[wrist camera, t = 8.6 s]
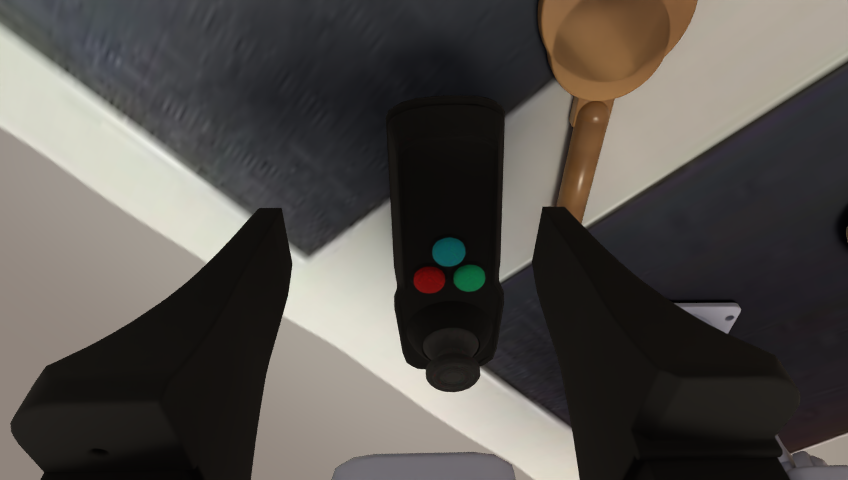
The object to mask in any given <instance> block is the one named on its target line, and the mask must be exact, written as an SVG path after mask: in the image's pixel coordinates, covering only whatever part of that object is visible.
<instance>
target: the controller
mask: <svg viewBox="0 0 848 480" xmlns="http://www.w3.org/2000/svg"><path fill="white" fill-rule="evenodd" d="M504 126H505V112H504V110H503V108H502V106H501V105H499V104H498V103H497V102H495V101H493V100H491V99H488V98H485V97H479V96H434V97H424V98H415V99H412V100H408V101H405V102H401V103H400V104H398V105H396V106H394V107H393V108H392V109H390V110H389V111H388V113H387V116H386V129H387V145H388V163H389V181H390V199H391V217H392V237H393V257H394V269H395V275H396V281H397V290H396V293H395V295H394V307H395V313H396V319H397V324H398V330H399V335H400V341H401V346H402V352H403V355H404V357H405V360H406V362H407V363H408V364H410V365H411V366H413V367H415V368H417V369H426V379H427V381H428V382H429V384H430V385H431V386H433V387H434V388H436V389H438V390H440V391H444V392H458V391H463V390H466V389H468V388H470V387H471V386H473V385H474V384H475V383H476V382H477V381H478V379H479V377H480V367H479V366H483V365H484V364H486V363H488V362H489V361H490V360H492V359H493V357H494V354H495V351H496V349H497V343H498V337H499V330H500V324H501V318H502V312H503V306H504V291H503V289H502V287H501V284H500V282H499V268H500V255H501V223H502V191H503V159H504Z"/></svg>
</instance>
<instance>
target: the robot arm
mask: <svg viewBox="0 0 848 480" xmlns="http://www.w3.org/2000/svg"><path fill="white" fill-rule="evenodd" d="M532 265H533V271H534V277H535V283H536V289H537V294H538V297H539V300H540V303H541V307H542V310H543V313H544V316H545V320H546V323H547V326H548V329H549V332H550V335H551V338H552V342H553V345H554V348H555V351H556V354H557V357H558V361H559V365H560V369H561V373H562V378H563V383H564V388H565V393H566V398H567V403H568V409H569V415H570V420H571V426H572V432H573V438H574V444H575V451H576V457H577V464H578V470H579V478H580V480H848V466H847V465H833V466H832V465H830V466H829V465H827V464H826V463H825V461H824V460H822V459H820V458H817V457H815V456H810V455H809V454H808V453H807V452H805V451H800V452H797V453H794V454H792V455H791V454H790V453H789V452H788V451H787V450H786V448H785V447H784V446H783V444H782V442H781V440H780V439H779V437H778V435H777V434H778V433H779V431H780V430H781V429H782V428H783V427H784V425H785V424H786V423H787V422H788V421H789V419H790V418H791V417H792V416H793V414H794V413H795V411H796V409H797V408H798V406H799V404H800V393H799V391H798V389H797V387H796V385H795V384H794V382H793V381H792V379H791V378H790V376H789V375H788V373H787V372H786V370H785V369H784V367H783V366H782V364H781V363H780V361H779V360H778V359H777V358H776V356H775V355H773V354H771V353H769V352H766V351H764V350H762V349H760V348H757V347H755V346H753V345H751V344H748V343H746V342H744V341H741V340H739V339H737V338H735V337H733V336H731V335H729V334H728V332H729V331H730V329H731V327H732V326H733V324H734V322H735V320H736V319H737V317H738V315H739V314H740V312H741V308H740V307H739V305H738V304H737V303H673V302H671V301H670V300H668V299H667V298H665V297H664V296H662V295H661V294H659V293H658V292H657V291H655V290H654V289H653V288H651V287H650V286H648V285H647V284H646V283H644V282H643V281H642V280H641V279H639V278H638V277H637V276H636V275H634V274H633V273H632V272H631V271H630V270H628V269H627V268H626V267H625V266H624V265H623V264H622V263H620V262H619V261H618V260H617V259H616V258H615V257H614V256H613V255H612V254H610V253H609V252H608V251H607V250H606V249H605V248H604V247H603V246H602V245H601V244H600V243H599V242H598V241H597V240H596V239H595V238H594V237H593V236H592V235H591V234H590V233H589V232H588V231H587V230H586V229H585V227H584V226H583V225H582V224H581V223H580V222H579V221H578V220H577V219H576V218H575V217H574V216H573V215H572V214H571V213H570V212H569V211H568V210H567V208H566V207H543V208H542V213H541V218H540V223H539V229H538V234H537V239H536V244H535V249H534V254H533V259H532ZM291 270H292V259H291V254H290V249H289V244H288V239H287V234H286V228H285V223H284V218H283V213H282V208H259V209H258V210H257V211H256V212H255V213H254V214H253V215H252V216H251V217H250V218H249V220H248V221H247V222H246V223H245V224H244V225H243V226H242V227H241V229H240V230H239V231H238V232H237V233H236V234H235V235H234V236H233V237H232V239H231V240H230V241H229V242H228V243H227V244H226V245H225V246H224V247H223V248H222V249H221V250H220V251H219V252H218V253H217V254H216V255H215V256H214V257H213V258H212V259H211V260H210V261H209V262H208V263H207V264H206V265H205V266H204V267H203V268H202V269H201V270H200V271H199V272H198V273H197V274H196V275H194V276H193V277H192V278H191V279H190V280H189V281H188V282H187V283H185V284H184V285H183V286H182V287H181V288H179V289H178V290H177V291H175V292H174V293H173V294H171V295H170V296H169V297H168V298H166V299H165V300H163V301H162V302H161V303H159V304H158V305H156V306H155V307H153V308H152V309H150V310H149V311H147V312H146V313H144V314H143V315H141V316H140V317H138V318H137V319H135V320H134V321H132V322H131V323H129V324H127V325H126V326H124V327H122V328H121V329H119V330H117V331H116V332H114V333H112V334H110V335H108V336H107V337H105V338H103V339H101V340H100V341H98V342H96V343H94V344H92V345H90V346H88V347H86V348H84V349H82V350H80V351H78V352H76V353H73V354H71V355H69V356H67V357H65V358H63V359H61V360H59V361H57V362H54V363H52V364H50V365H48V366H46V367H45V369H44V370H43V371H42V373H41V374H40V376H39V377H38V379H37V380H36V382H35V383H34V385H33V386H32V388H31V390H30V391H29V393H28V394H27V396H26V398H25V399H24V401H23V403H22V404H21V406H20V408H19V409H18V411H17V412H16V414H15V416H14V417H13V419H12V421H11V423H10V424H11V432H12V434H13V436H14V438H15V439H16V440H17V442H18V444H19V445H20V446H21V447H22V448H23V449H24V450H25V452H26V453H27V454H28V455H29V456H30V457H31V458H32V459H33V460H34V461H35V462H36V464H37V465H38V466H39V467H40V468H41V469H42V470H43V471H44V474H43V476H42V478H41V480H251V473H252V465H253V457H254V450H255V441H256V435H257V427H258V421H259V415H260V408H261V402H262V396H263V390H264V384H265V378H266V373H267V369H268V365H269V361H270V357H271V354H272V350H273V347H274V343H275V340H276V336H277V332H278V329H279V326H280V322H281V318H282V315H283V312H284V308H285V304H286V301H287V297H288V292H289V285H290V278H291ZM331 480H516V479H515V474H514V470H513V467H512V465H511V464H510V463H508V462H507V461H505V460H503V459H501V458H499V457H498V456H496V455H493V454H485V453H477V452H463V453H462V452H458V453H414V454H413V453H410V454H373V455H366V456H359V457H354V458H352V459H350V460H348V461H346V462H345V463H343V464H341V465H339V466H338V467H337V468H336V469H335V471H334V474H333V477H332V479H331Z"/></svg>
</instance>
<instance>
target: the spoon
mask: <svg viewBox="0 0 848 480" xmlns="http://www.w3.org/2000/svg"><path fill="white" fill-rule="evenodd" d="M697 1H698V0H539V3H538V27H539V32H540V36H541V39H542V42H543V44H544V46H545V48H546V50H547V57H548V62H549V65H550V68H551V70H552V72H553V74H554V76H555V78H556V80H557V81H558V82H559V84H560V85H561V86H562V87H563V88H564V89H565V90H566V91H567V92H569V93H570V94H572V95H573V96H574V99H573V104H572V108H571V113H570V118H569V121H570V123H571V125H572V127H574V128H573V132H572V137H571V142H570V146H569V151H568V155H567V160H566V164H565V169H564V174H563V178H562V183H561V187H560V192H559V196H558V201H557V206H556V207H566V208H567V210H568V211H569V212H570V213H571V214H572V215H573V216H574V217H575V218H576V219H577V220H578V221H579V222H580V223H581V224H582V220H583V216H584V212H585V208H586V205H587V201H588V197H589V193H590V189H591V186H592V182H593V178H594V174H595V170H596V167H597V163H598V159H599V155H600V151H601V148H602V144H603V140H604V136H605V132H606V129H607V126H608V122H609V118H610V114H611V111H612V107H613V103H614V99H615V98H618V97H621V96H623V95H626V94H628V93H630V92H631V91H633V90H635V89H636V88H638V87H639V86H641V85H642V84H643V83H644V82H645V81H647V80H648V79H649V78H650V77H651V76H652V74H653V73H654V72H655V71H656V69H657V68H658V67H659V65H660V64H661V62H662V60H663V58H664V57H665V56H666V55H667V54H668V53H669V52H670V51H671V50H672V49H673V47H674V46H675V45H676V44H677V43H678V41H679V40H680V39H681V37H682V36H683V34H684V32H685V31H686V29H687V27H688V25H689V23H690V21H691V19H692V17H693V14H694V11H695V8H696V5H697Z"/></svg>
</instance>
